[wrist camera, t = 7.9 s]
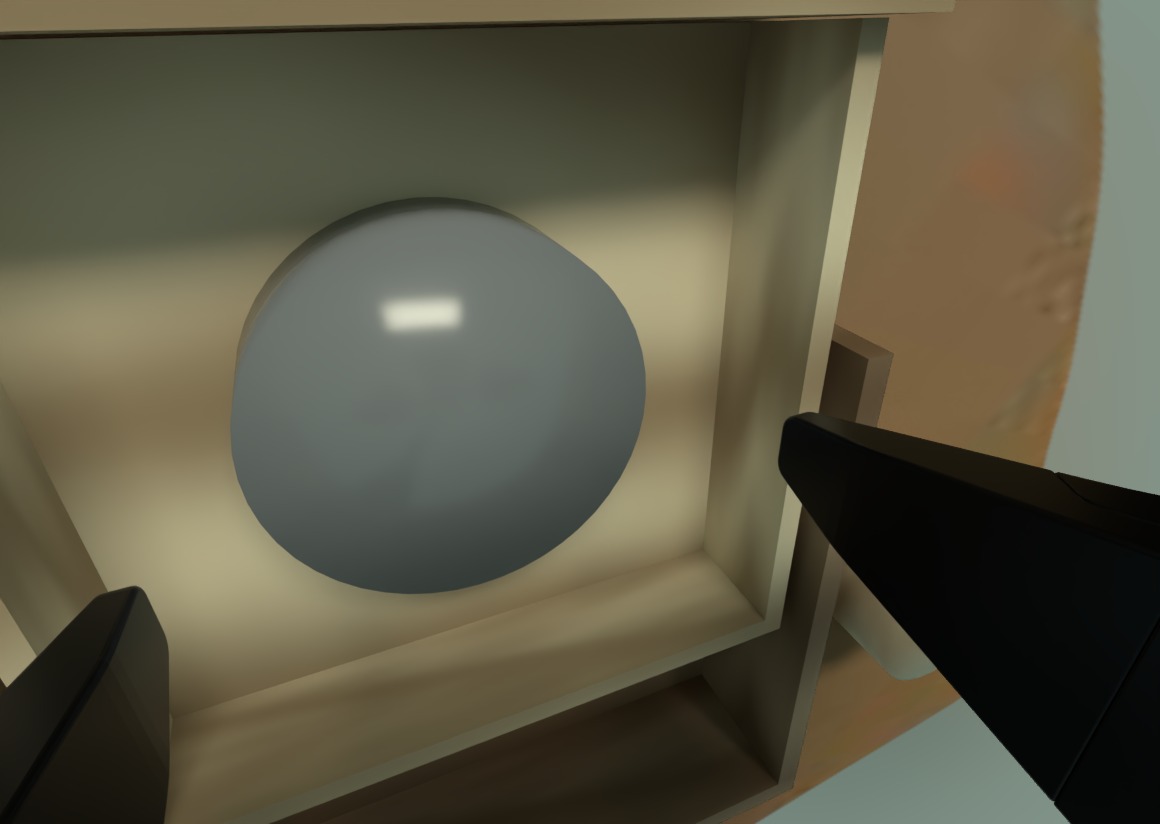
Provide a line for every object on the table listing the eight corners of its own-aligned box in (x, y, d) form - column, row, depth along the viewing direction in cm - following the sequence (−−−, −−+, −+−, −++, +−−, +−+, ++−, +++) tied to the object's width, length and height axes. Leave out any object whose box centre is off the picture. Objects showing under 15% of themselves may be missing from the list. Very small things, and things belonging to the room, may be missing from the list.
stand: (895, 584, 25) (974, 652, 23) (801, 620, 24) (873, 697, 21) (922, 491, 23) (1013, 554, 20) (821, 524, 22) (904, 597, 19)
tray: (725, 540, 19) (815, 638, 16) (125, 732, 14) (88, 926, 11) (795, -92, 12) (985, -137, 9) (-378, -142, 7) (-890, -286, 4)
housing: (709, 671, 23) (792, 788, 20) (198, 871, 18) (184, 1081, 14) (751, 283, 16) (893, 353, 13) (-61, 425, 11) (-219, 616, 7)
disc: (604, 180, 12) (655, 202, 11) (601, 486, 16) (638, 538, 14) (180, 218, 10) (165, 254, 8) (285, 567, 14) (289, 639, 12)
